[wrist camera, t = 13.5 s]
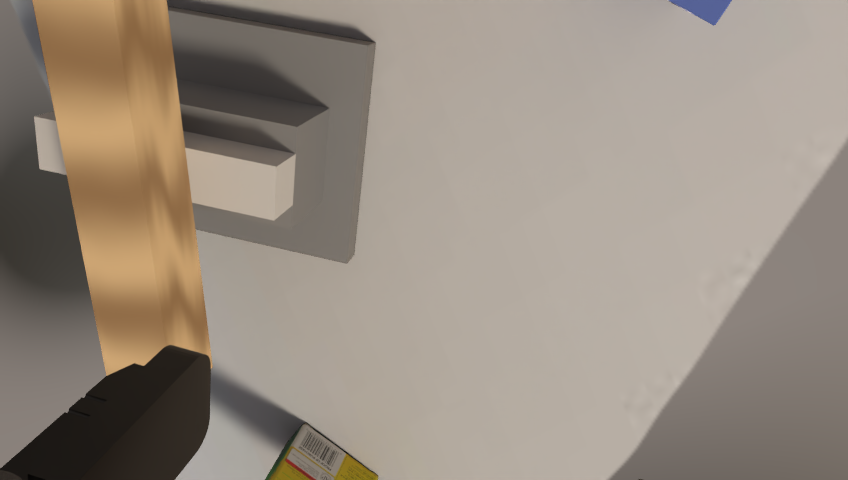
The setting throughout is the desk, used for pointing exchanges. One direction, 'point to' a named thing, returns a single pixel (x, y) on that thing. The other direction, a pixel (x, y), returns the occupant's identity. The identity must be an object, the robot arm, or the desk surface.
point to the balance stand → (266, 131)
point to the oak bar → (126, 172)
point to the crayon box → (316, 460)
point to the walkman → (704, 8)
